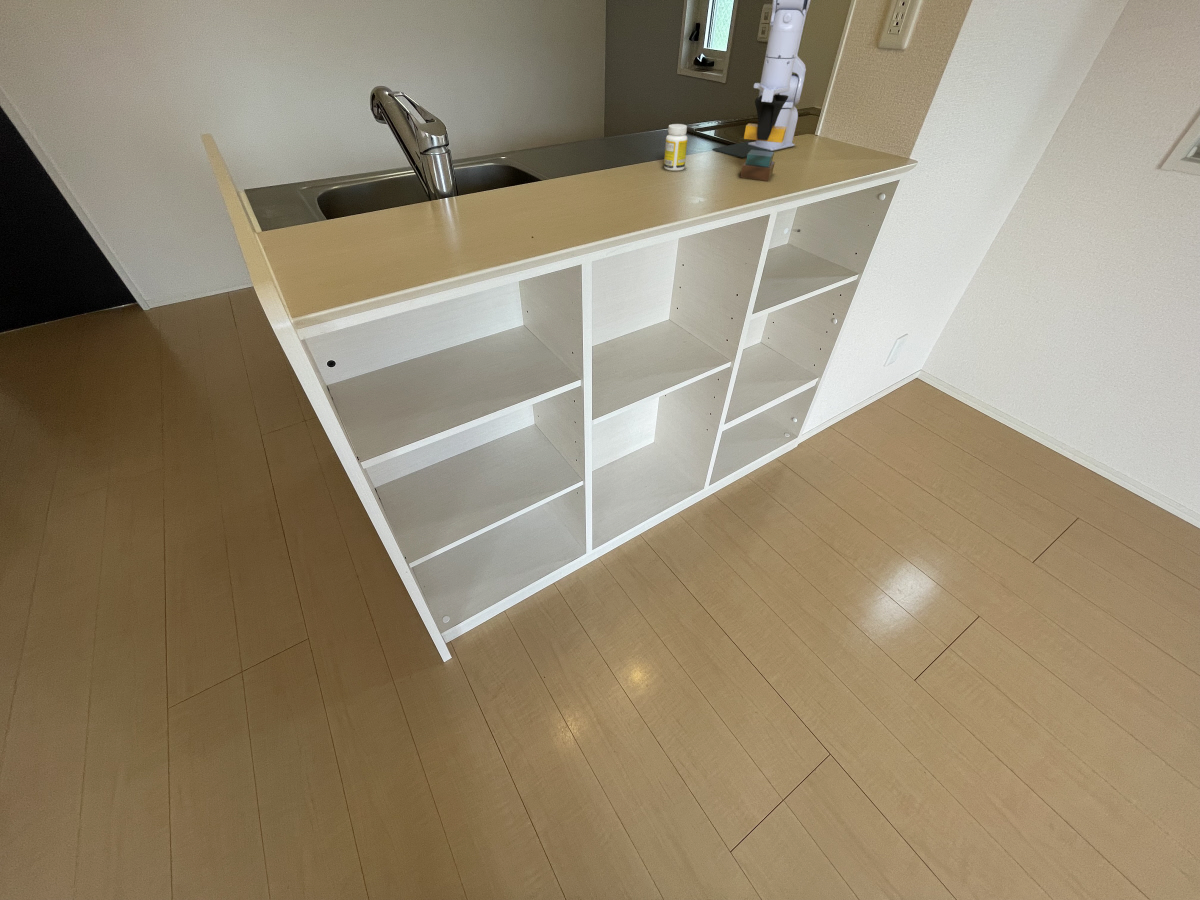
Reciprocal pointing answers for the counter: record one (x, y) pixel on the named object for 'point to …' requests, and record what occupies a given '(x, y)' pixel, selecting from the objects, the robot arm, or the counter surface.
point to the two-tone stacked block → (758, 165)
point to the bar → (775, 135)
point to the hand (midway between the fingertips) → (764, 137)
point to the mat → (740, 149)
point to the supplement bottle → (675, 147)
